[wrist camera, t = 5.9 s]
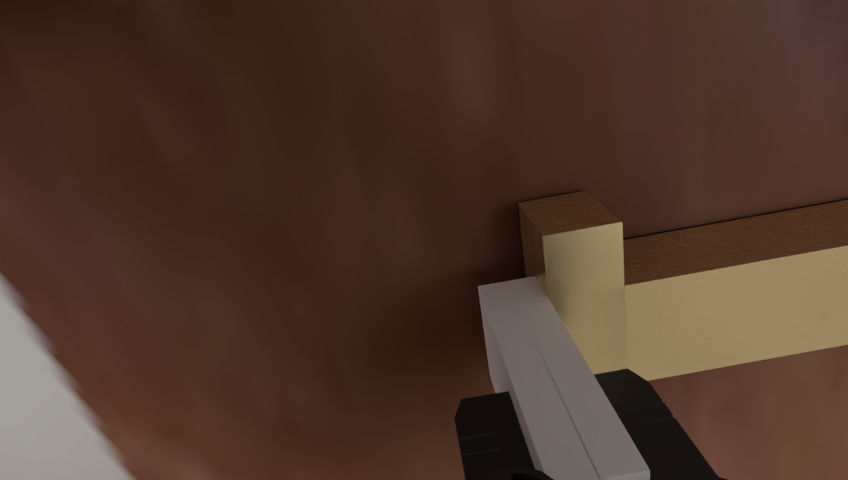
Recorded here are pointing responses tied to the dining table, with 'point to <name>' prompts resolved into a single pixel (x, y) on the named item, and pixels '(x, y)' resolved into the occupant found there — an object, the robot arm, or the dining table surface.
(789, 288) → the t-shaped block
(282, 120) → the dining table surface
